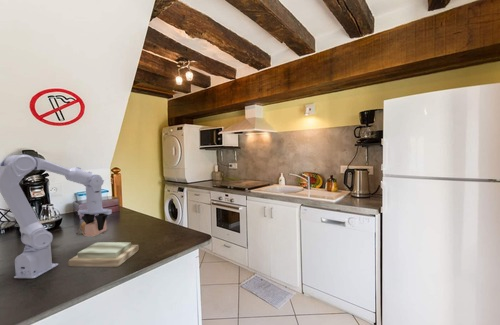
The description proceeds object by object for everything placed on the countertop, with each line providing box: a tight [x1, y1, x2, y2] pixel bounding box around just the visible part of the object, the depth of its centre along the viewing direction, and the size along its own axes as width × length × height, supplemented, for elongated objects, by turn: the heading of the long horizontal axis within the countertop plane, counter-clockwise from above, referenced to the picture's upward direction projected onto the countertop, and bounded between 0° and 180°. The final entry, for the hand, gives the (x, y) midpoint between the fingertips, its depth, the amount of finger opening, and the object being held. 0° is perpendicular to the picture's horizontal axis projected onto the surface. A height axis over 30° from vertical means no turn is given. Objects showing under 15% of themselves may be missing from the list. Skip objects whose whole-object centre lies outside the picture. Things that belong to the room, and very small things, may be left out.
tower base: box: [68, 241, 140, 268], centre depth 92 cm, size 14×20×4 cm
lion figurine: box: [75, 219, 96, 236], centre depth 120 cm, size 15×5×9 cm, turn 106°
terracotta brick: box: [84, 219, 107, 237], centre depth 100 cm, size 8×4×5 cm, turn 177°
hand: (96, 229), depth 100 cm, fingers closed on terracotta brick, 4 cm apart
